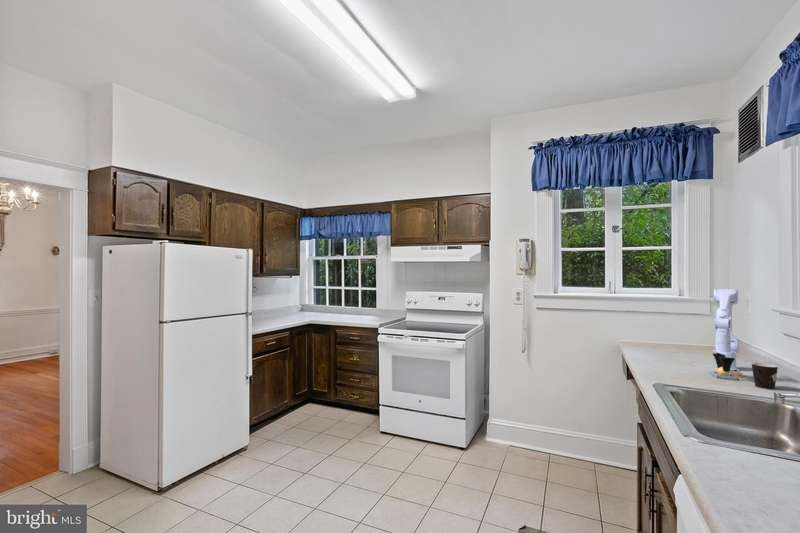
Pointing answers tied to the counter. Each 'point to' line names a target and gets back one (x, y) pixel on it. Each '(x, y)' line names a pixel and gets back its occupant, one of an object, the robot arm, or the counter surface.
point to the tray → (728, 377)
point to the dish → (736, 373)
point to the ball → (722, 372)
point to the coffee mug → (764, 375)
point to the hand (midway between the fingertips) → (723, 369)
